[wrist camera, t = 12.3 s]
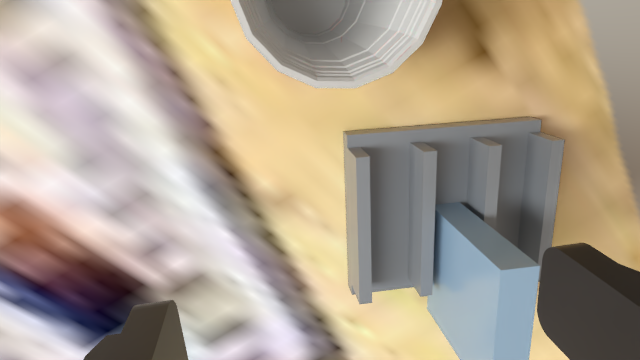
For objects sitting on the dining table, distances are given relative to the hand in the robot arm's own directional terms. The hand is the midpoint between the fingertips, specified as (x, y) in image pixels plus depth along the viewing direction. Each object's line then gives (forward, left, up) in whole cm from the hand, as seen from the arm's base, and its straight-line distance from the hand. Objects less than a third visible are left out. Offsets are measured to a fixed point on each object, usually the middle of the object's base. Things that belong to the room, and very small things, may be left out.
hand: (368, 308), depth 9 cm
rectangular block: (+13, +12, -25) cm, 31 cm away
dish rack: (+9, +12, -26) cm, 30 cm away
